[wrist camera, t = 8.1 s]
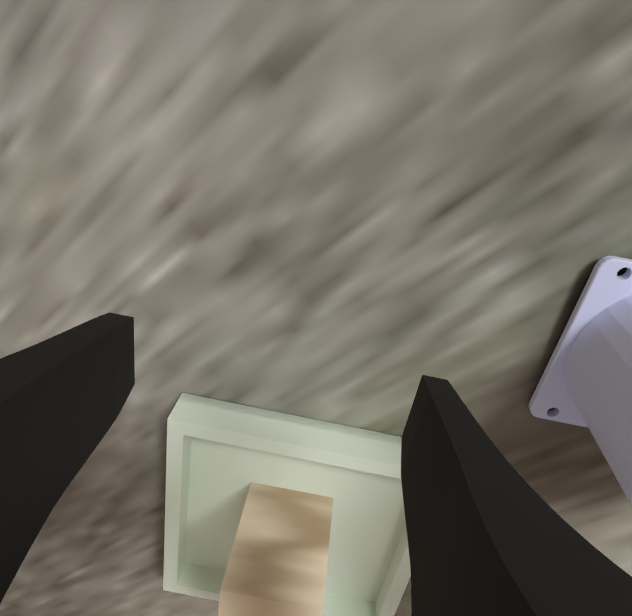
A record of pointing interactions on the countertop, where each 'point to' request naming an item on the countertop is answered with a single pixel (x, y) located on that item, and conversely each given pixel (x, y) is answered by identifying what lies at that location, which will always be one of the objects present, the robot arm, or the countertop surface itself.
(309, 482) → the tray
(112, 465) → the countertop surface
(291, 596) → the maple block
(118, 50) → the countertop surface
